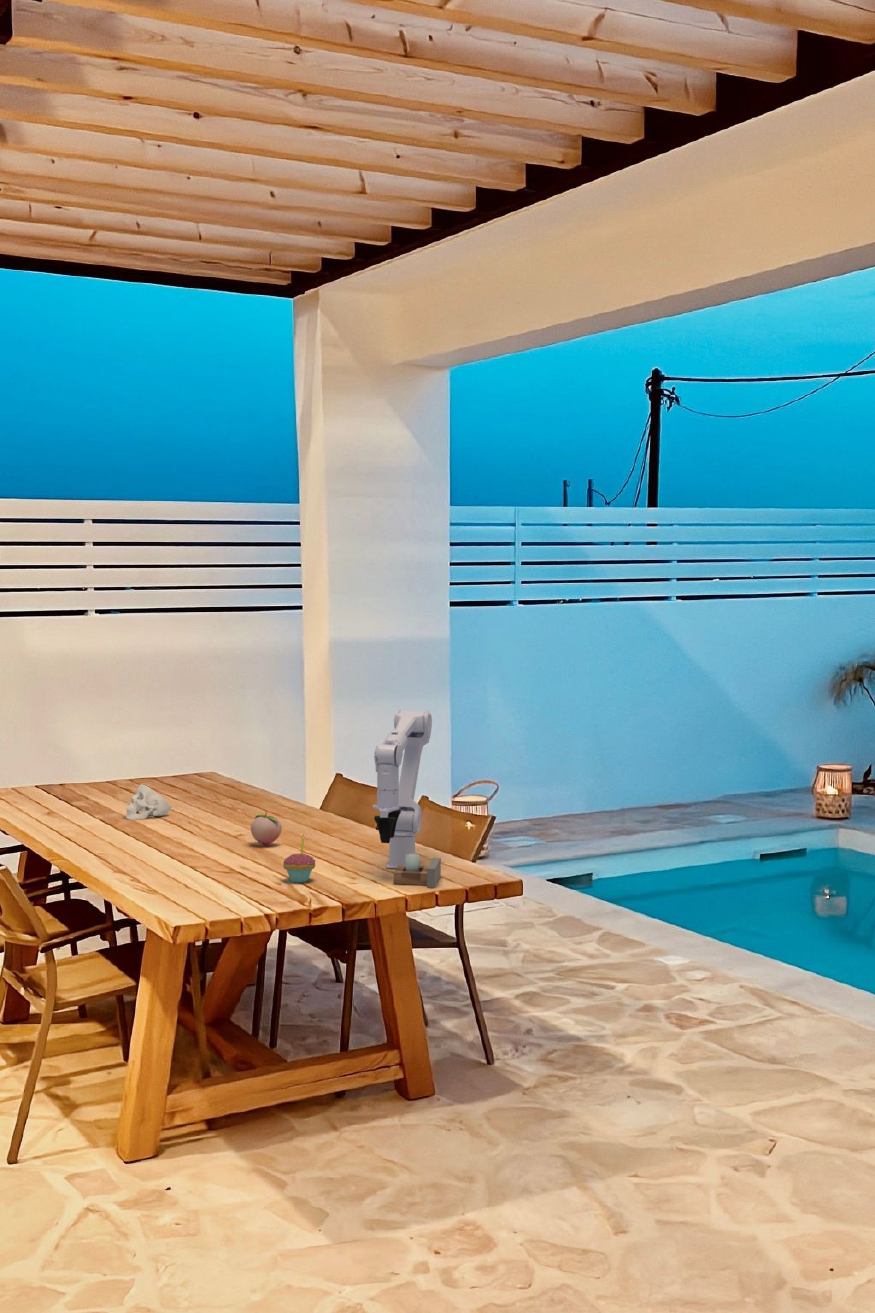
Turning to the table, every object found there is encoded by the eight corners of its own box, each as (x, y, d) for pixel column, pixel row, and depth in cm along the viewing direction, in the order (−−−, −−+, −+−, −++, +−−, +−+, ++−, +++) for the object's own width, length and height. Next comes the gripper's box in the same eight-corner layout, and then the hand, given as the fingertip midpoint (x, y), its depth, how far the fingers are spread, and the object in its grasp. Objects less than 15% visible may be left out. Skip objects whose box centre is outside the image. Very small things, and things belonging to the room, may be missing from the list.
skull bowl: (114, 813, 438) (133, 780, 442) (148, 832, 446) (166, 800, 449) (127, 817, 430) (145, 784, 433) (161, 837, 437) (179, 804, 440)
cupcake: (292, 876, 353) (292, 831, 352) (321, 879, 350) (321, 833, 349) (277, 882, 345) (277, 837, 344) (306, 885, 342) (306, 839, 341)
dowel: (406, 879, 350) (406, 853, 350) (419, 880, 350) (419, 853, 349) (404, 882, 346) (404, 856, 346) (418, 883, 346) (418, 856, 346)
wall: (433, 876, 354) (433, 857, 354) (440, 876, 354) (440, 857, 354) (426, 887, 341) (427, 868, 340) (434, 888, 340) (434, 868, 340)
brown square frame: (398, 876, 353) (398, 865, 353) (432, 877, 352) (432, 866, 352) (393, 883, 344) (393, 872, 344) (428, 885, 343) (428, 873, 343)
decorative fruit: (244, 846, 392) (244, 813, 391) (260, 842, 399) (260, 809, 399) (270, 849, 387) (270, 816, 387) (286, 845, 395) (286, 811, 394)
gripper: (377, 785, 359) (376, 834, 360) (368, 793, 345) (368, 844, 346) (403, 785, 358) (402, 835, 359) (395, 793, 344) (394, 845, 345)
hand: (387, 840), depth 352 cm, fingers open, 7 cm apart
